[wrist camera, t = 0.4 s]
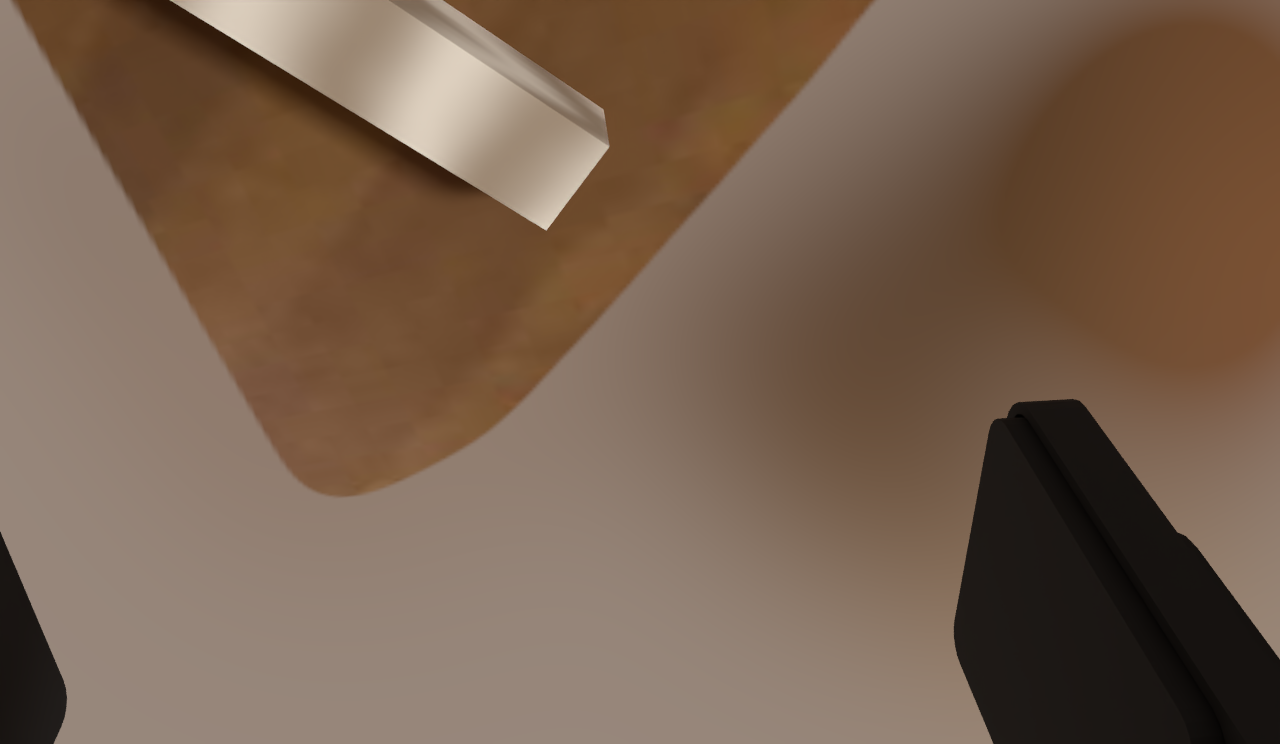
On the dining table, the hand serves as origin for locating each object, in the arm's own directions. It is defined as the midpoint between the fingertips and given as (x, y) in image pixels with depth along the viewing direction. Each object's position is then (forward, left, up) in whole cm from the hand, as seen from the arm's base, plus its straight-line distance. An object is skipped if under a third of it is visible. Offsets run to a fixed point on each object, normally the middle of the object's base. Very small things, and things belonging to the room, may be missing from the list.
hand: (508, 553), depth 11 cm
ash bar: (-2, -7, -34) cm, 34 cm away
